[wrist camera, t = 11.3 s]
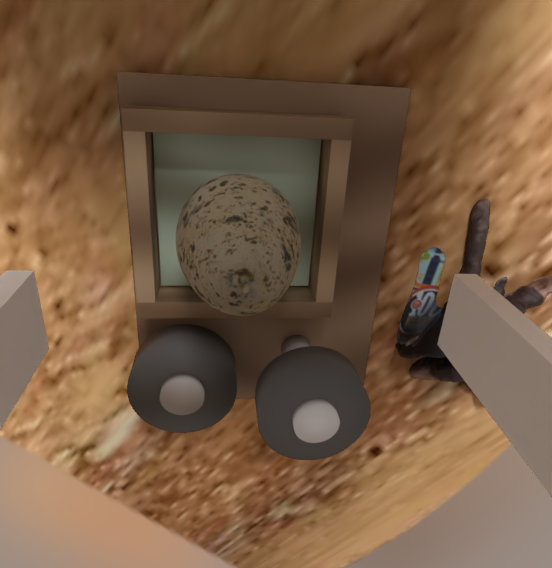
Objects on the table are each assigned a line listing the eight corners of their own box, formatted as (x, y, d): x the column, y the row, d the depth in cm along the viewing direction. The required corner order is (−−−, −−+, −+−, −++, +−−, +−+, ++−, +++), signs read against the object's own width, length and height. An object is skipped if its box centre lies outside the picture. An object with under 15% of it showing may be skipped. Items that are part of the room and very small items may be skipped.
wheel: (256, 346, 25) (261, 378, 22) (365, 345, 25) (381, 375, 23) (253, 433, 27) (256, 470, 25) (352, 429, 28) (365, 466, 25)
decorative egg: (166, 242, 26) (139, 333, 17) (205, 142, 24) (197, 186, 15) (262, 278, 28) (283, 378, 19) (305, 187, 26) (353, 251, 17)
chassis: (121, 71, 24) (91, 71, 18) (402, 87, 25) (452, 91, 20) (146, 389, 32) (131, 455, 26) (357, 384, 34) (383, 444, 28)
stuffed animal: (448, 429, 35) (426, 411, 25) (381, 326, 40) (341, 276, 30) (591, 348, 33) (630, 294, 23) (502, 250, 38) (503, 170, 28)
